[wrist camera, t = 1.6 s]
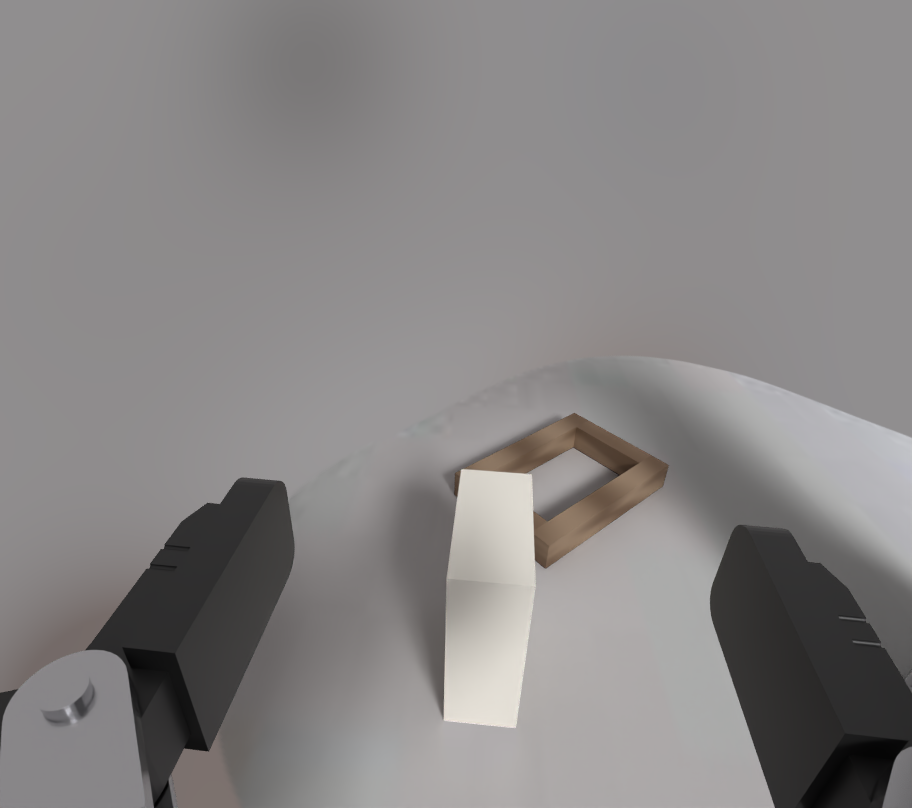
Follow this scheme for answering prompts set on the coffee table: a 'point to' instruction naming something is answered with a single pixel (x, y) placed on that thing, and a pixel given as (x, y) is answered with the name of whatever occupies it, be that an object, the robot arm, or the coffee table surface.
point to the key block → (489, 597)
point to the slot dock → (597, 508)
